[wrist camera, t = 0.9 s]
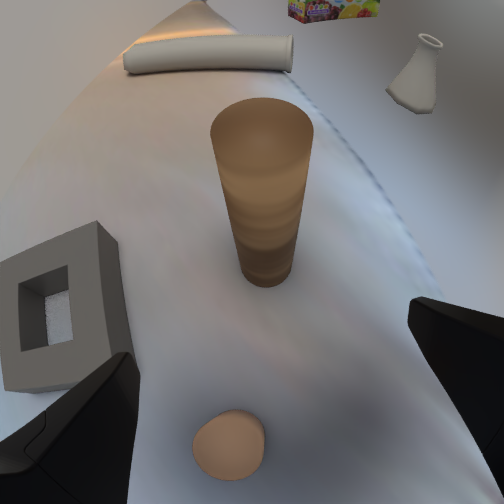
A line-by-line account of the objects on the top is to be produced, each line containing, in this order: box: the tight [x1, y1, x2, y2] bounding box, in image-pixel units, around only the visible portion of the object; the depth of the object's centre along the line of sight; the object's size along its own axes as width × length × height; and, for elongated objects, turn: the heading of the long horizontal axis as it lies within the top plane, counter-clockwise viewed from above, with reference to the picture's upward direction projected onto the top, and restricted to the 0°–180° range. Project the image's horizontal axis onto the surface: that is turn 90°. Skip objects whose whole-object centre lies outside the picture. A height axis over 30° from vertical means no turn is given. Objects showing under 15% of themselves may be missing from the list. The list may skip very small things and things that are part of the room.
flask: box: [386, 33, 443, 114], centre depth 28 cm, size 7×7×10 cm
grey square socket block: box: [0, 221, 137, 394], centre depth 21 cm, size 12×12×4 cm
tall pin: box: [210, 98, 314, 287], centre depth 17 cm, size 4×4×14 cm
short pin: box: [192, 410, 265, 481], centre depth 16 cm, size 4×4×5 cm
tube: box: [123, 35, 293, 74], centre depth 34 cm, size 5×5×25 cm
